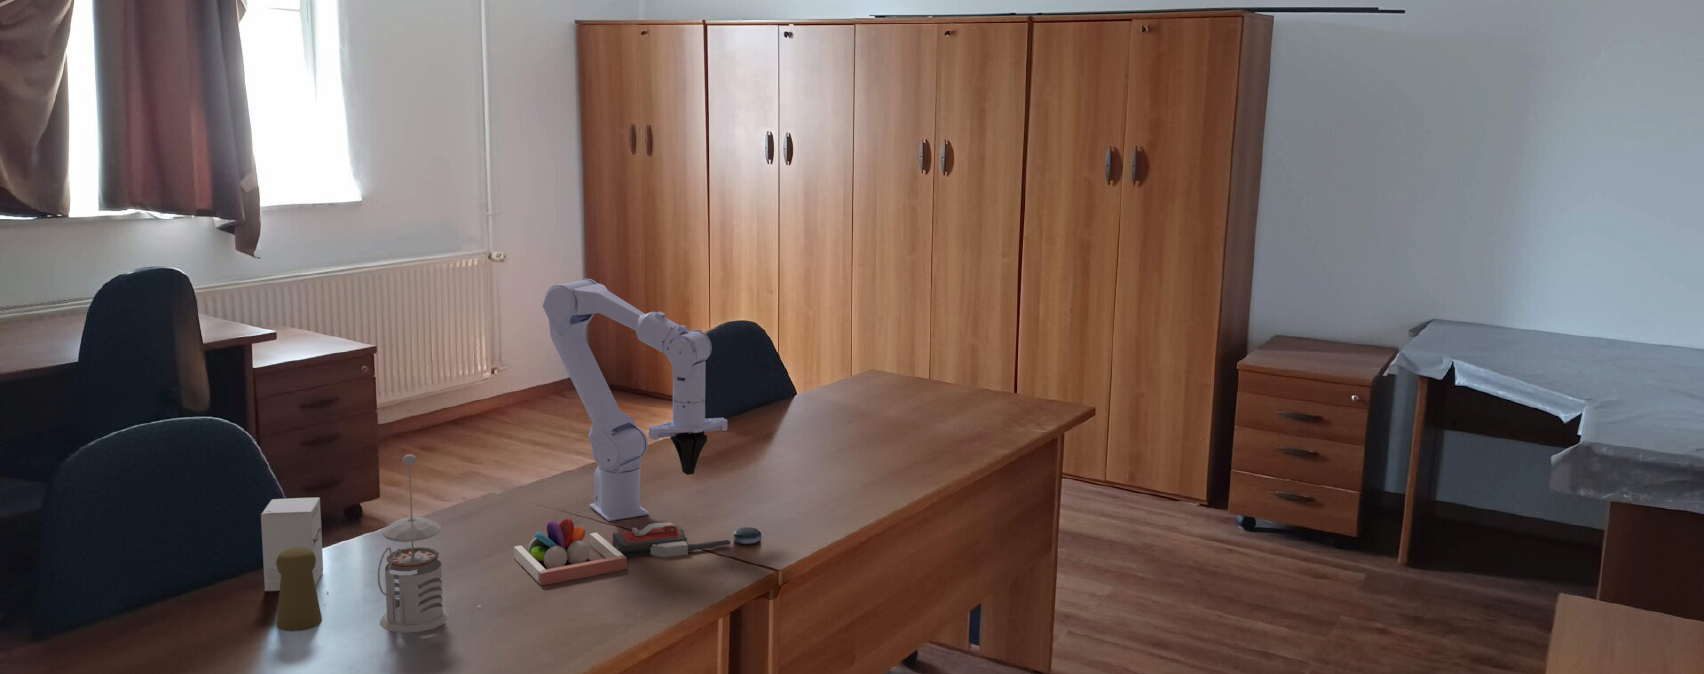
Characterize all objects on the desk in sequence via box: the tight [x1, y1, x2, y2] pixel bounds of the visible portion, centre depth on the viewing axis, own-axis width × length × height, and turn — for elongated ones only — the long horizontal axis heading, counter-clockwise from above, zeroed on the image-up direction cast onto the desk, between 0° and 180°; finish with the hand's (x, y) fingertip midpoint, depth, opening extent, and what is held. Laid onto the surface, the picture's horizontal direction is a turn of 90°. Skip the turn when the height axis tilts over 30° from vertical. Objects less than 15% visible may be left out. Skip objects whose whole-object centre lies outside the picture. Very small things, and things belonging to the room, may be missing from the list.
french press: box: [377, 454, 451, 634], centre depth 179 cm, size 10×12×25 cm
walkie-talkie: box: [612, 521, 731, 558], centre depth 214 cm, size 9×4×20 cm
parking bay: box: [513, 532, 628, 586], centre depth 205 cm, size 13×14×2 cm
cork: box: [276, 547, 323, 632], centre depth 179 cm, size 6×6×11 cm
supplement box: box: [260, 497, 324, 592], centre depth 193 cm, size 7×7×13 cm
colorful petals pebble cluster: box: [527, 518, 590, 569], centre depth 205 cm, size 8×10×7 cm
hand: (688, 472), depth 223 cm, fingers closed
